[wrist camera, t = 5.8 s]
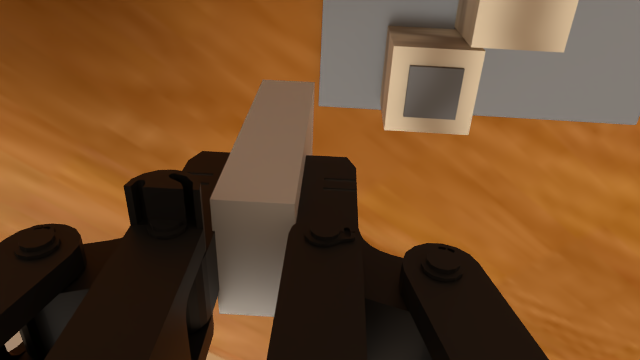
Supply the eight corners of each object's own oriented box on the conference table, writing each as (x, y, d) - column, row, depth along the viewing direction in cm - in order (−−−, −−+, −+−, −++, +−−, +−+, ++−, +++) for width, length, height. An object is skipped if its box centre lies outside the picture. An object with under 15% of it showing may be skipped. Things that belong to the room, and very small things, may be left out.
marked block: (379, 103, 41) (383, 135, 36) (387, 25, 38) (394, 47, 33) (452, 108, 41) (468, 140, 36) (467, 30, 38) (486, 52, 32)
